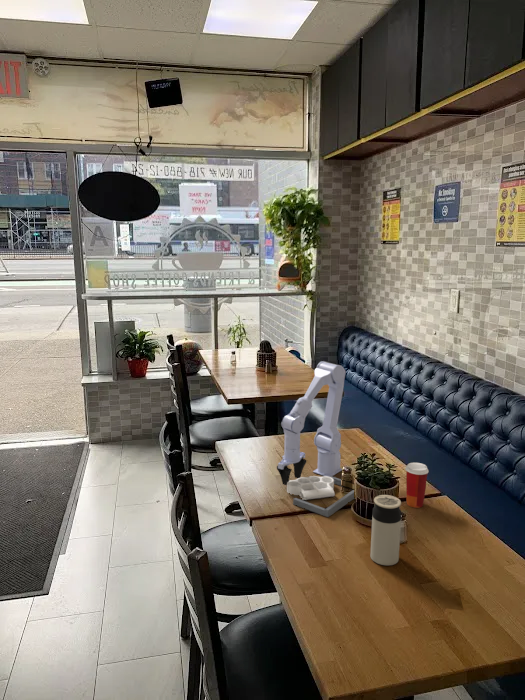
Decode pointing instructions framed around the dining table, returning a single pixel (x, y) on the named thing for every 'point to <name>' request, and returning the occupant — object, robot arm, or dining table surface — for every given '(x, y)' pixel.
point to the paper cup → (416, 484)
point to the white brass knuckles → (311, 487)
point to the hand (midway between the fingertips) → (291, 481)
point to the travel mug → (386, 530)
